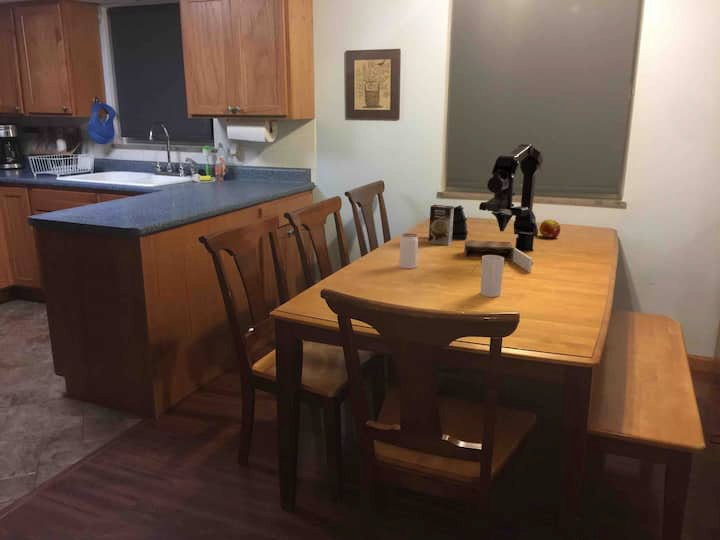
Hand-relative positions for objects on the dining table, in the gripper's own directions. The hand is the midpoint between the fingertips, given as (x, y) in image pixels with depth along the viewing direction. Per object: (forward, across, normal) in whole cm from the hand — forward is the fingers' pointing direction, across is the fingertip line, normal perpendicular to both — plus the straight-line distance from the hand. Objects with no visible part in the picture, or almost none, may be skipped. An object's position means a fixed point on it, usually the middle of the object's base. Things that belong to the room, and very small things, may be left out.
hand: (501, 231), depth 230 cm
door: (+12, +9, +2) cm, 15 cm away
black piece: (+12, -40, +19) cm, 46 cm away
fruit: (+12, -13, +56) cm, 59 cm away
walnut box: (+12, -9, +4) cm, 16 cm away
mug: (+12, +24, -38) cm, 46 cm away
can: (+12, -17, -33) cm, 39 cm away
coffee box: (+12, -36, +7) cm, 39 cm away
